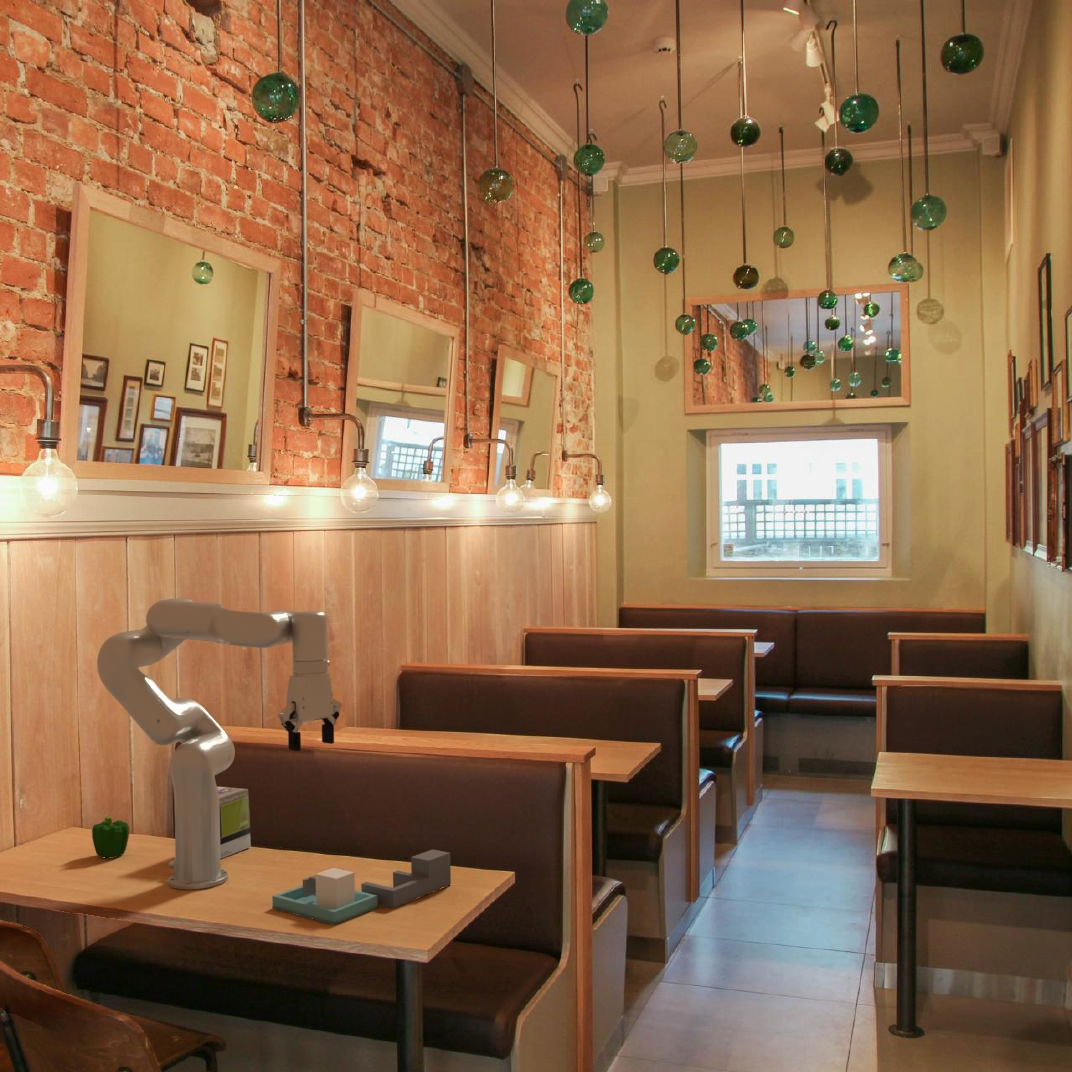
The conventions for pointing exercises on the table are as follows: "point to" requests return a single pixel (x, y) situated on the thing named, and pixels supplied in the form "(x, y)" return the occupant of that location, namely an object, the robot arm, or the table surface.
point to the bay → (414, 879)
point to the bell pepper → (110, 837)
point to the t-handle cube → (331, 888)
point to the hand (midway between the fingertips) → (311, 746)
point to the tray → (308, 908)
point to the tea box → (234, 820)
